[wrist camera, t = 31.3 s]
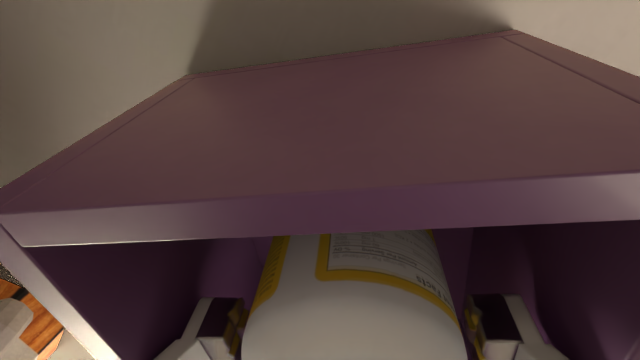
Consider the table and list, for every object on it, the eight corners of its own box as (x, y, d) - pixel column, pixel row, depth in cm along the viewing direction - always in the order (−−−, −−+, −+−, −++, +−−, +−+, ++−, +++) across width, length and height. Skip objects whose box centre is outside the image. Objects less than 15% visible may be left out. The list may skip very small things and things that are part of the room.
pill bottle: (303, 247, 18) (242, 554, 9) (276, 147, 15) (126, 475, 5) (420, 241, 17) (499, 588, 8) (420, 132, 14) (563, 513, 4)
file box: (184, 74, 14) (-48, 216, 6) (517, 28, 12) (854, 156, 4) (274, 314, 24) (230, 495, 16) (469, 314, 22) (538, 526, 13)
